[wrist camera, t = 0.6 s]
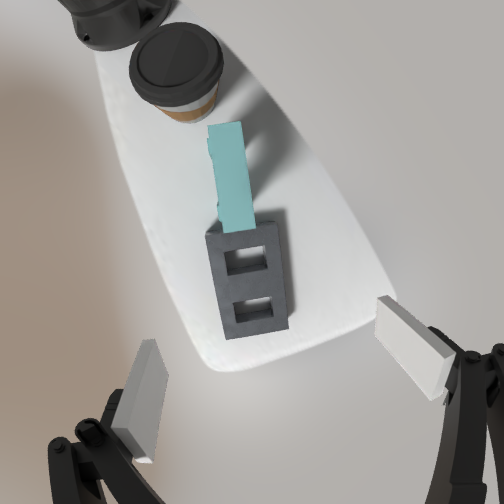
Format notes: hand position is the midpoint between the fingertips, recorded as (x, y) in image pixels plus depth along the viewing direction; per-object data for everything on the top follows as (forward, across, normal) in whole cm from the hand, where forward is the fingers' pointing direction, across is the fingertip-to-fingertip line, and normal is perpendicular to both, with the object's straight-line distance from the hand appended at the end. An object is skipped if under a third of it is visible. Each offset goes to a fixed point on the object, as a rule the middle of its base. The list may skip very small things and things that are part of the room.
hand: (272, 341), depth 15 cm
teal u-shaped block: (+23, 0, +9) cm, 25 cm away
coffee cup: (+24, -4, +20) cm, 31 cm away
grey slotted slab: (+23, 0, -5) cm, 24 cm away
